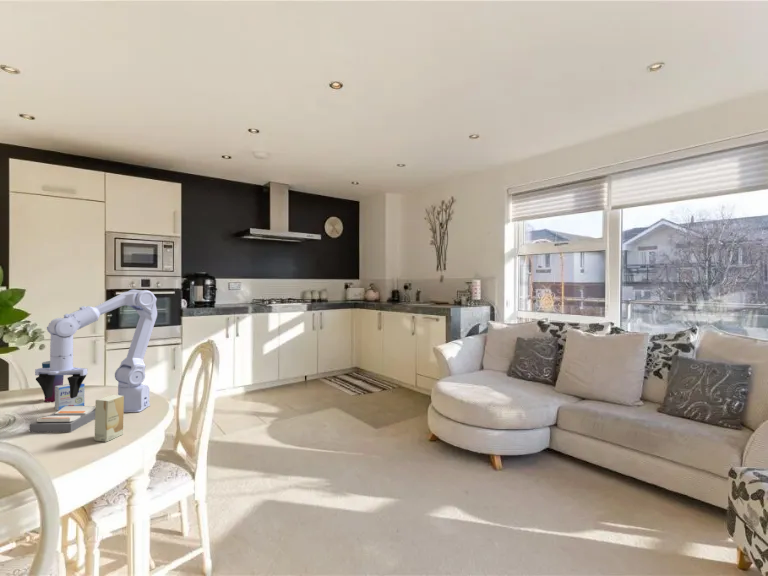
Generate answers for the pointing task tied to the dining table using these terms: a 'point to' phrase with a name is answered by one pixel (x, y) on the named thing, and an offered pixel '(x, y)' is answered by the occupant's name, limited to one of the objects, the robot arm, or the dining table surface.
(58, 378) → the cup
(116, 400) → the skincare box
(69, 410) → the orange-striped cream panel
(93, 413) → the grey divided tray
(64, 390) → the medicine box
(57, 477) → the dining table surface
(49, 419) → the rocker
